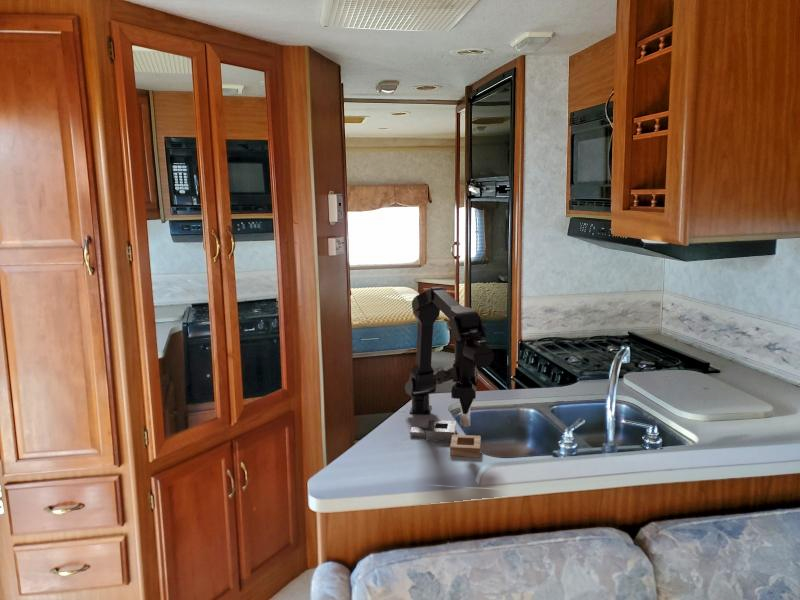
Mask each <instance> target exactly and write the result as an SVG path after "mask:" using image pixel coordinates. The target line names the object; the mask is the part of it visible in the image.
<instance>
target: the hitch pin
mask: <svg viewBox="0 0 800 600" xmlns="http://www.w3.org/2000/svg"><path fill="white" fill-rule="evenodd" d="M460 426H461V427H466V428H467V427H470V426H471V407H470V408H469V411H468V413H467V414H463V411H462V407H461V406H460Z"/></svg>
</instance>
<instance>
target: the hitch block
mask: <svg viewBox="0 0 800 600" xmlns="http://www.w3.org/2000/svg"><path fill="white" fill-rule="evenodd" d="M409 434H410V435H409V437H410V438H426V439H425V440H426V441H427V442H445V443H451V439H452V435H457V420H442V419H441V420H439V419H429V420H428V424H427V426H426V427H422V426H421V427H420V426H411V428H410V431H409Z"/></svg>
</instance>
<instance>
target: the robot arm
mask: <svg viewBox="0 0 800 600" xmlns="http://www.w3.org/2000/svg"><path fill="white" fill-rule="evenodd" d="M411 309H412V313H413V316H414V318H415V319H416V321H417V330H416V331H417V334H416V335H417V336H416V337H417V338H416V356H415V358H416V359H415V364H414V366H413V367H412V368H411V370H410V372H409V374H410V375H409V378H408V380H407V382H406V383H405V385H404V389H405V393H406V394H407V395H409V397H411V407H410V410H409V414H411V415H430V414H431V411H432V405H430V394H435V393H436V390H437V385H441V384H443V383H446V382H448V381H452V382H453V383H454V384H453V385H452V386H451V399H459V403H460V408H461V407H462V411H463V414H467V413H468V411H469V408H470V409H471V406H472V405H473V404H472V403H473V401H474V400H475V399H476V398H477V386H478V381H477V379H478V378H479V369H478V368H480V369H484V368H485V369H486V368H487V367H488V366H490V365H491V364H492V362H493V361H494V359H495V358H494V357H495V354H494V351H493V349H492V348H491V346H488V342H487V340H484V339H487V333H486V332H487V330H486V327H485V325H484V323H483V321H482V318H481V316H480V314H479V313H478V311H477V310H475V309H474V308H471V307H467V306H463V305H461V304H460V303H459V302H458V300H456V299H455V297H453V296H452V295H451V294H450V293H449V292H447V290H446V287H444V286H435V287H429V288H427V289H426V290H425V291H424V292H421V293H420V294H418V295H416V296H415V297H413V299H412V301H411ZM440 312H442V314H444V315H445V317H447V318H448V326H449V327H450V329H451V331H452V334H451V337H452V338H453V339H454V359H453V363H449V364H446V365H442V366H440V367H437V368H433V367H432V361H433V360H432V355H433V340H434V339H433V338H434V325H435V322H437V319H438V318H439V317H440ZM477 367H478V368H477Z"/></svg>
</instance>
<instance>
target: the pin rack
mask: <svg viewBox="0 0 800 600" xmlns="http://www.w3.org/2000/svg"><path fill="white" fill-rule="evenodd" d="M481 440H482V437H481V435H470V434H469V435H468V434H456V435H452V439H451V442H450V446H449V456H453V457H468V458H469V457H470V458H471V457H472V458H475V457H476V458H480V457H481V446H482V443H481V442H482V441H481Z"/></svg>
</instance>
